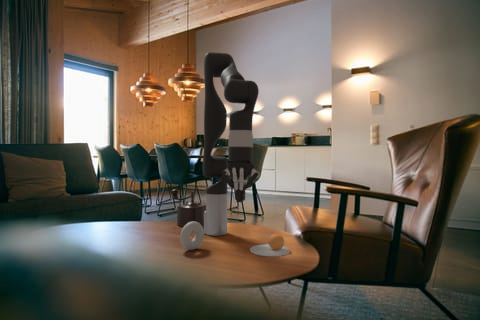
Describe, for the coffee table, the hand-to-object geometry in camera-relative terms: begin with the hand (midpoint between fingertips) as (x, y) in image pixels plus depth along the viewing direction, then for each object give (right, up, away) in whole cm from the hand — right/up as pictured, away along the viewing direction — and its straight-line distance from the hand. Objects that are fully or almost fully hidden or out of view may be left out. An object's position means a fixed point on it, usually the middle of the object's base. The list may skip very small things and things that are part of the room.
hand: (240, 201), depth 95 cm
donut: (-17, -19, +14) cm, 29 cm away
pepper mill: (-25, -19, +54) cm, 62 cm away
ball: (+13, -16, +14) cm, 25 cm away
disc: (+10, -19, +13) cm, 25 cm away
